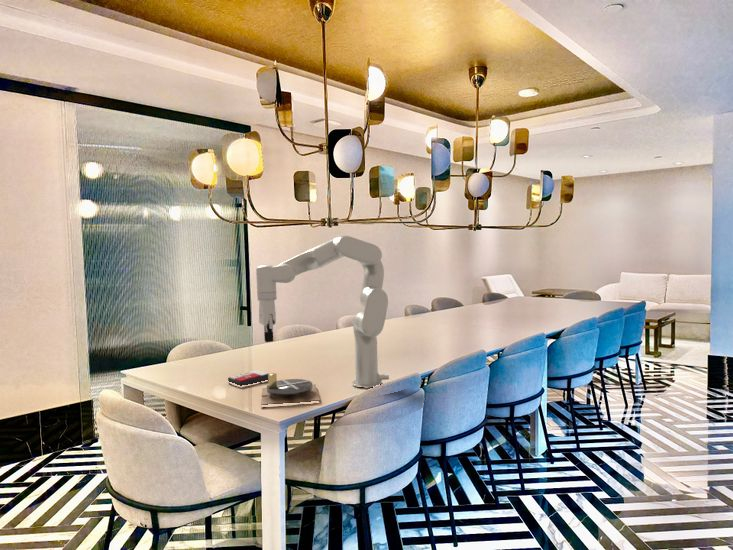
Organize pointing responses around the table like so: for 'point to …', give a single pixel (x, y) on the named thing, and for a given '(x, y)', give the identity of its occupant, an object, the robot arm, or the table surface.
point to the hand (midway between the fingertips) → (269, 341)
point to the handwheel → (287, 386)
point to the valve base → (289, 397)
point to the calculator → (248, 377)
